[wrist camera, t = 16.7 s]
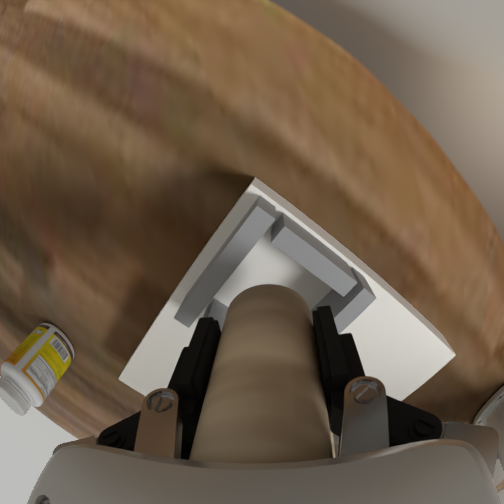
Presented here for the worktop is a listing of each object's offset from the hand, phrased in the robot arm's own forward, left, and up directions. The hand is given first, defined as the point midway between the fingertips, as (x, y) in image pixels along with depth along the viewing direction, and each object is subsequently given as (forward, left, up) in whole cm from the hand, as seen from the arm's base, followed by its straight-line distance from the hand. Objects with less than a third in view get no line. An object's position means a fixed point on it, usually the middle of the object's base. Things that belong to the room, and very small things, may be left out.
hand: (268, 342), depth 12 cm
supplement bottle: (+12, +22, -8) cm, 27 cm away
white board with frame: (-6, +6, -8) cm, 12 cm away
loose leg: (0, 0, -1) cm, 1 cm away
